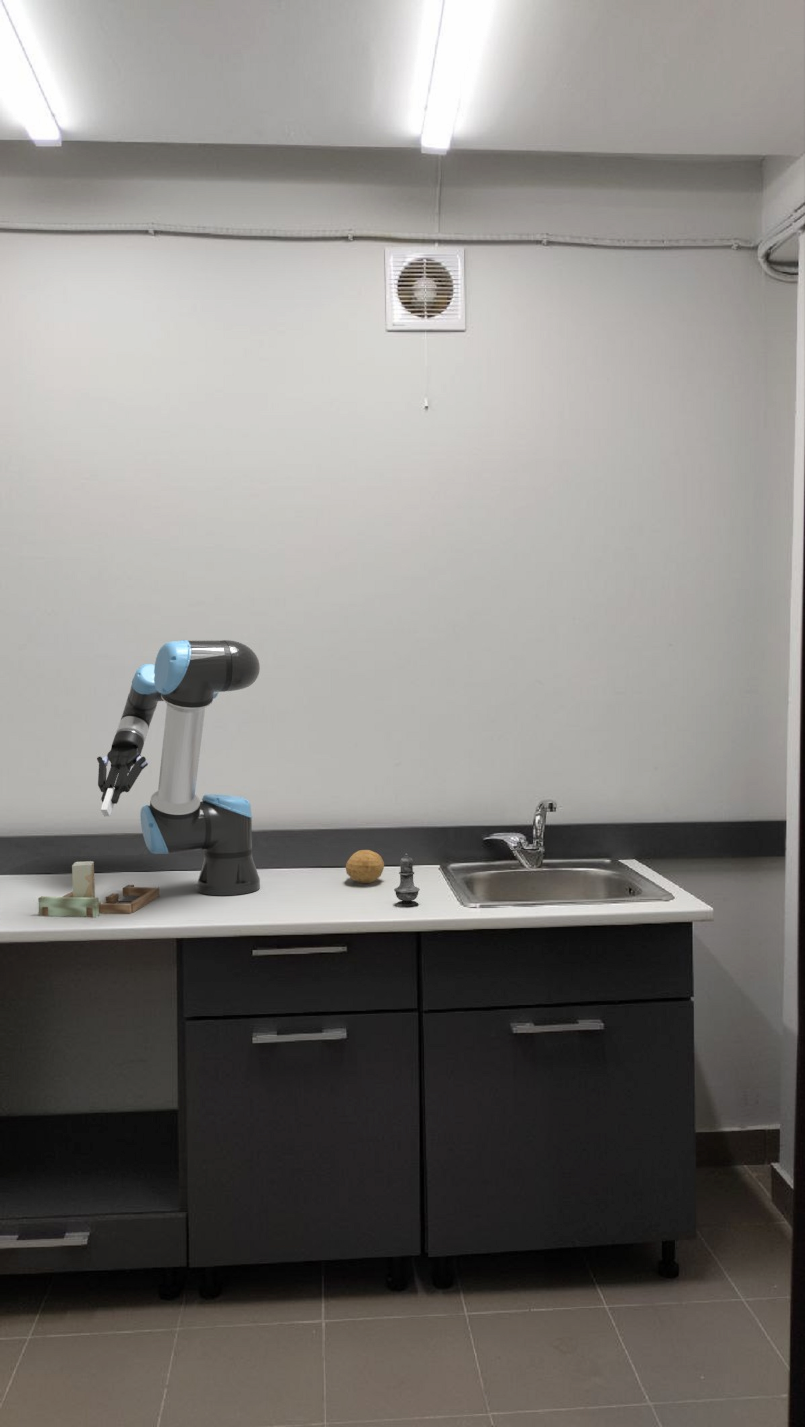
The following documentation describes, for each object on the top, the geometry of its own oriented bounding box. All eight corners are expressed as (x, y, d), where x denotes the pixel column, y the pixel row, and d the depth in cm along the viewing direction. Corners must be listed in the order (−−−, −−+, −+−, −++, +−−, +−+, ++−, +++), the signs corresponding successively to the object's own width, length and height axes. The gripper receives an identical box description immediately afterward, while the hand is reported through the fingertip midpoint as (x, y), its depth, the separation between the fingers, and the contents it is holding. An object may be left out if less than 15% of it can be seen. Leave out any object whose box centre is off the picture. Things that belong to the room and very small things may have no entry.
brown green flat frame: (163, 893, 269) (163, 877, 268) (125, 917, 245) (124, 899, 245) (84, 891, 272) (84, 875, 271) (38, 915, 248) (38, 898, 248)
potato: (382, 876, 286) (381, 845, 286) (386, 887, 272) (385, 855, 272) (344, 877, 285) (344, 846, 285) (346, 889, 271) (346, 856, 271)
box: (92, 913, 249) (91, 865, 249) (72, 914, 249) (71, 865, 248) (95, 908, 254) (94, 860, 254) (76, 909, 254) (74, 861, 253)
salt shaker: (401, 908, 250) (400, 856, 249) (389, 903, 255) (389, 852, 254) (424, 905, 253) (423, 853, 252) (412, 900, 258) (411, 849, 257)
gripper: (158, 747, 285) (135, 822, 269) (110, 748, 287) (84, 822, 271) (150, 728, 279) (126, 803, 264) (101, 729, 281) (74, 803, 266)
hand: (105, 812), depth 267 cm, fingers closed
